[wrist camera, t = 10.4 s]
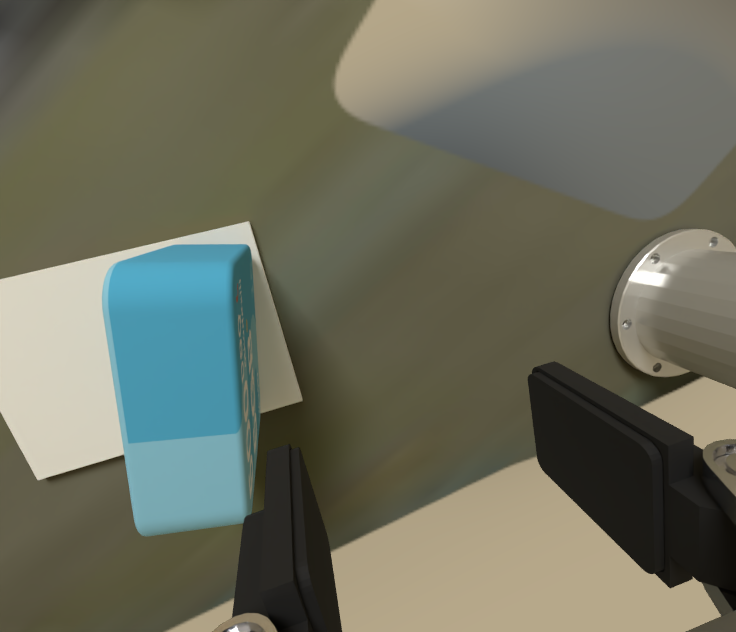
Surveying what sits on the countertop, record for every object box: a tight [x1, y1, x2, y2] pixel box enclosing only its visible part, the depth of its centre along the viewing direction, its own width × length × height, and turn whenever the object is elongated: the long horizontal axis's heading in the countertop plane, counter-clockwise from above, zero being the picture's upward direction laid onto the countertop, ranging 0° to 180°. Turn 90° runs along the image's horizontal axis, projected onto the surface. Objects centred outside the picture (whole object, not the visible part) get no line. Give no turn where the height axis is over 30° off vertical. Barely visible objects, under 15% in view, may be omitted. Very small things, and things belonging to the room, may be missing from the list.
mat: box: [0, 221, 303, 480], centre depth 27 cm, size 18×13×1 cm
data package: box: [102, 244, 260, 536], centre depth 22 cm, size 12×4×12 cm, turn 1°
